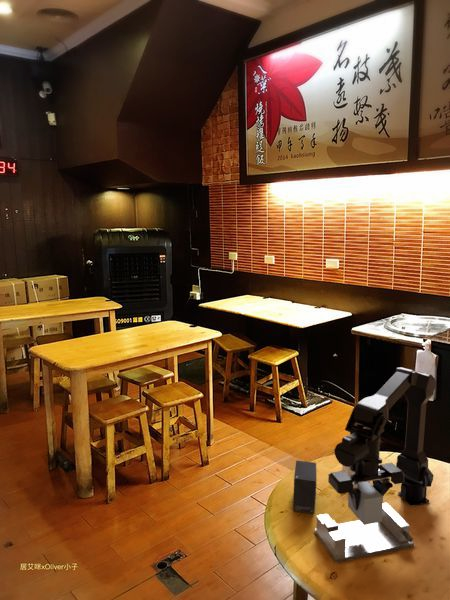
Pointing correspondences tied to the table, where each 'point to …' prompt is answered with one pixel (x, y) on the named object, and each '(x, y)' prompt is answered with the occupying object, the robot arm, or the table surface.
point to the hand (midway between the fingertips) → (364, 507)
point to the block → (368, 504)
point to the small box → (304, 487)
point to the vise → (356, 539)
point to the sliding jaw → (395, 523)
